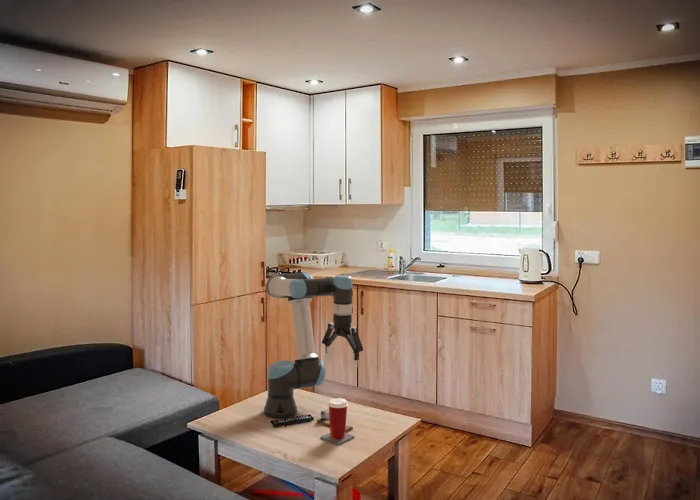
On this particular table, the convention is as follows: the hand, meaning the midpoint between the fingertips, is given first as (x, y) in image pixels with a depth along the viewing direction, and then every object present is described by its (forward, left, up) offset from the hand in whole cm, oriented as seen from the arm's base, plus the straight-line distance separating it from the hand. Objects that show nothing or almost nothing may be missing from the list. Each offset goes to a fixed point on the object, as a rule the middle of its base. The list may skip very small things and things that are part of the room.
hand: (341, 364), depth 237 cm
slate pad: (0, -2, -31) cm, 31 cm away
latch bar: (-16, +13, -29) cm, 36 cm away
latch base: (-9, +7, -31) cm, 33 cm away
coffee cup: (0, -2, -30) cm, 30 cm away
